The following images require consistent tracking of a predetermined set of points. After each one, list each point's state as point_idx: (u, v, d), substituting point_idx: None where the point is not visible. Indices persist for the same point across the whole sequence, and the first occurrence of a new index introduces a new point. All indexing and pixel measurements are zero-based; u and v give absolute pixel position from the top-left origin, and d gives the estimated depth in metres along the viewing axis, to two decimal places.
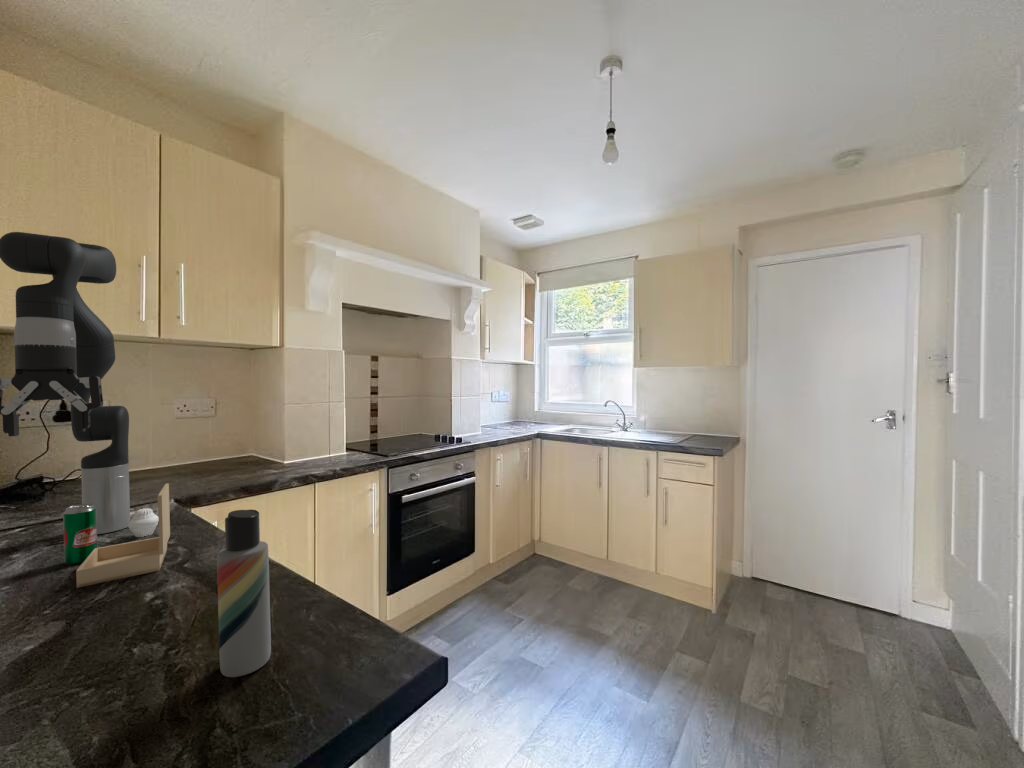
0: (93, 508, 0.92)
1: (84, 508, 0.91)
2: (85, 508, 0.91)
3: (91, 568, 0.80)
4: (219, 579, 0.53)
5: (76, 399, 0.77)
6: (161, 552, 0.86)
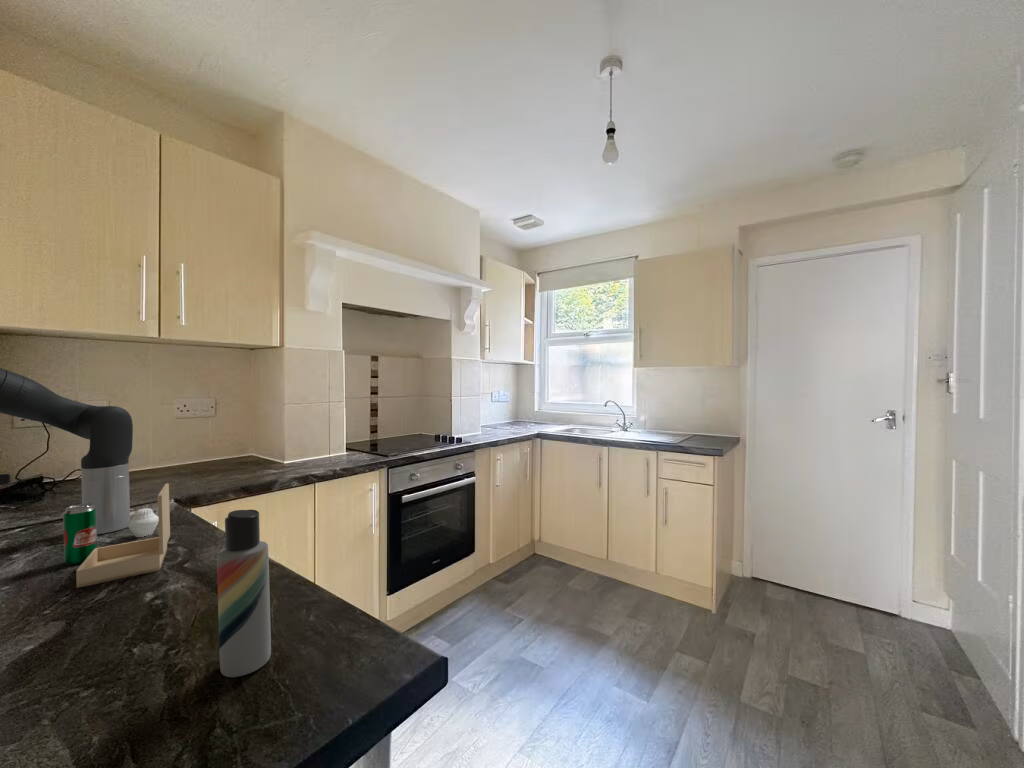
0: (93, 508, 0.92)
1: (84, 508, 0.91)
2: (85, 508, 0.91)
3: (91, 568, 0.80)
4: (219, 579, 0.53)
5: None
6: (161, 552, 0.86)
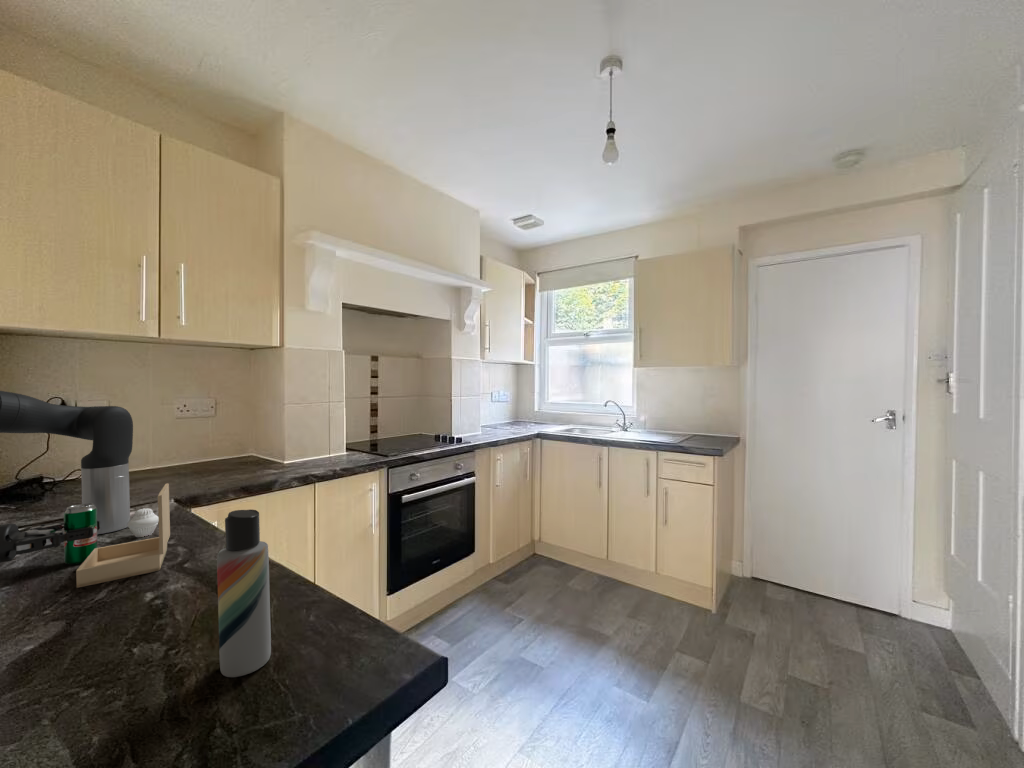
0: (94, 508, 0.93)
1: (85, 507, 0.91)
2: (86, 507, 0.91)
3: (91, 568, 0.80)
4: (219, 579, 0.53)
5: None
6: (161, 552, 0.86)
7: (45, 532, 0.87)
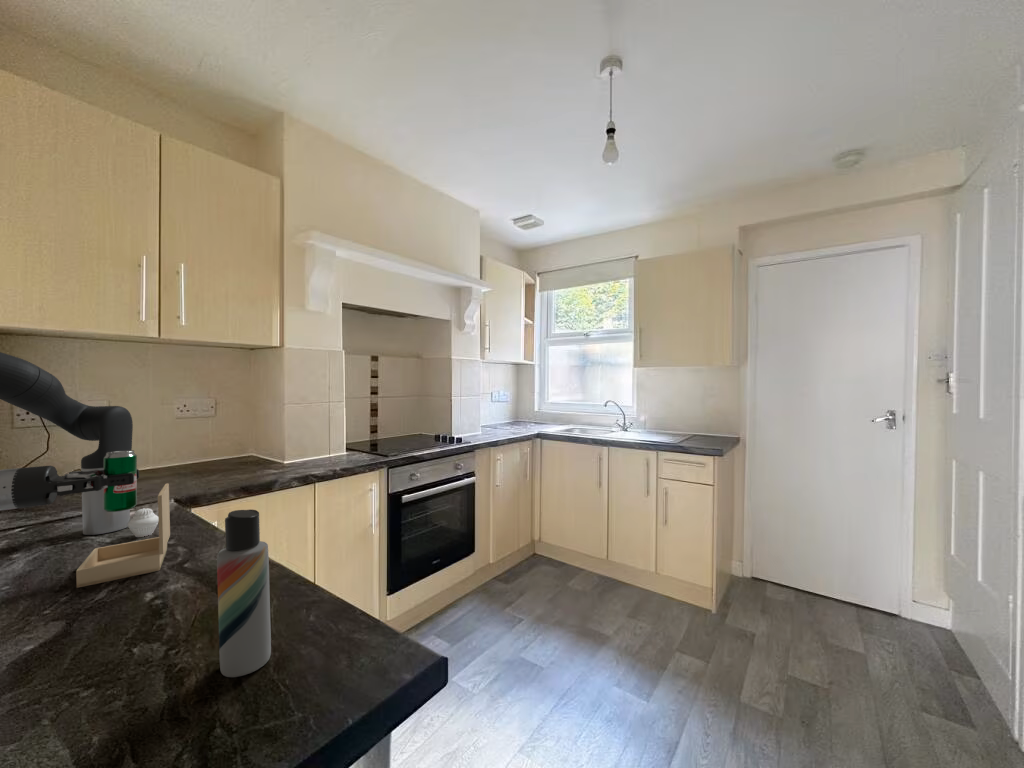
0: (134, 454, 0.89)
1: (125, 453, 0.87)
2: (126, 453, 0.87)
3: (91, 568, 0.80)
4: (219, 579, 0.53)
5: None
6: (161, 552, 0.86)
7: (86, 475, 0.83)
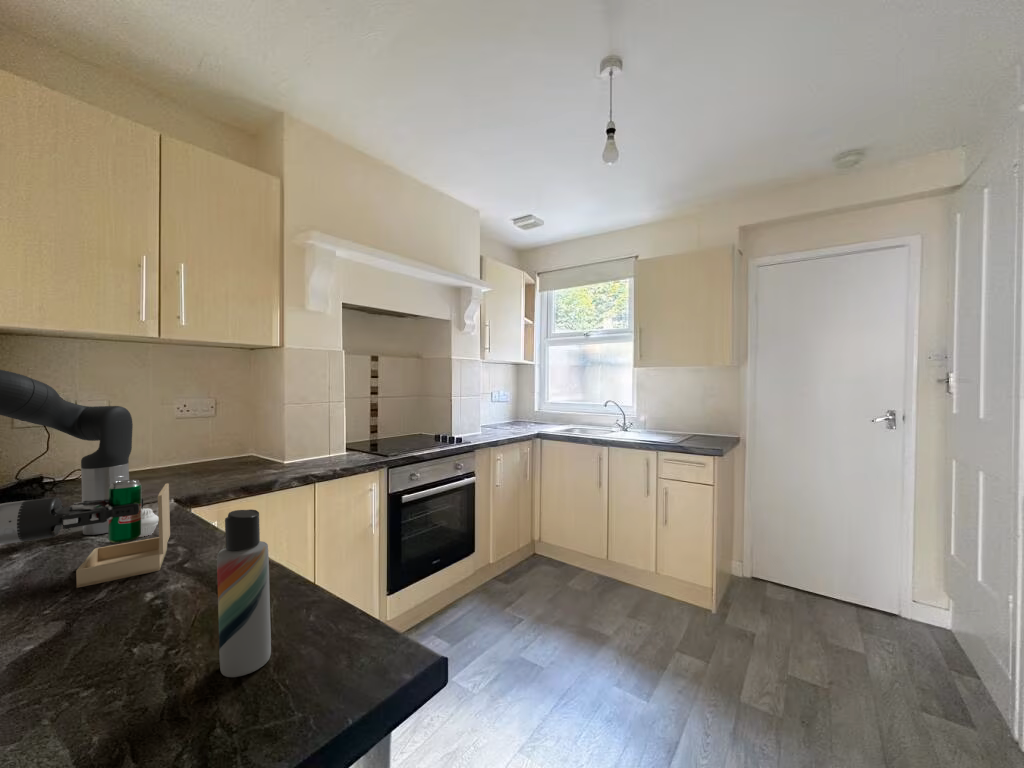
0: (139, 484, 0.89)
1: (130, 483, 0.87)
2: (131, 483, 0.87)
3: (91, 568, 0.80)
4: (219, 579, 0.53)
5: None
6: (161, 552, 0.86)
7: (91, 507, 0.83)
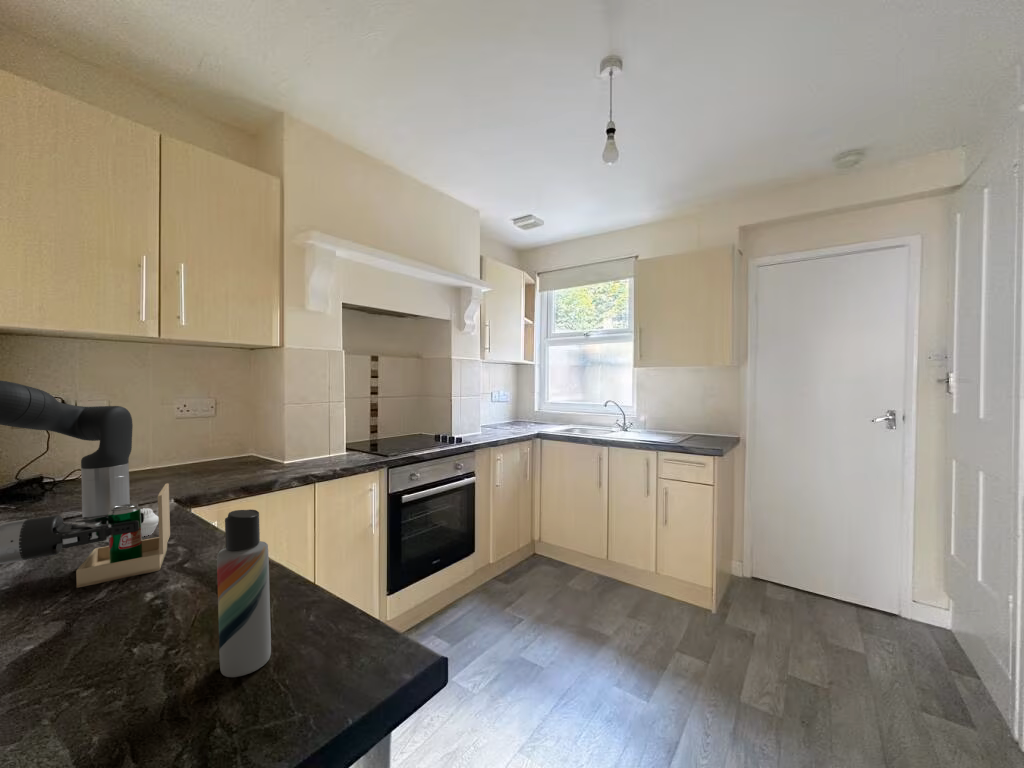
0: (137, 508, 0.89)
1: (129, 508, 0.87)
2: (130, 508, 0.87)
3: (91, 568, 0.80)
4: (219, 579, 0.53)
5: None
6: (161, 552, 0.86)
7: (91, 525, 0.83)
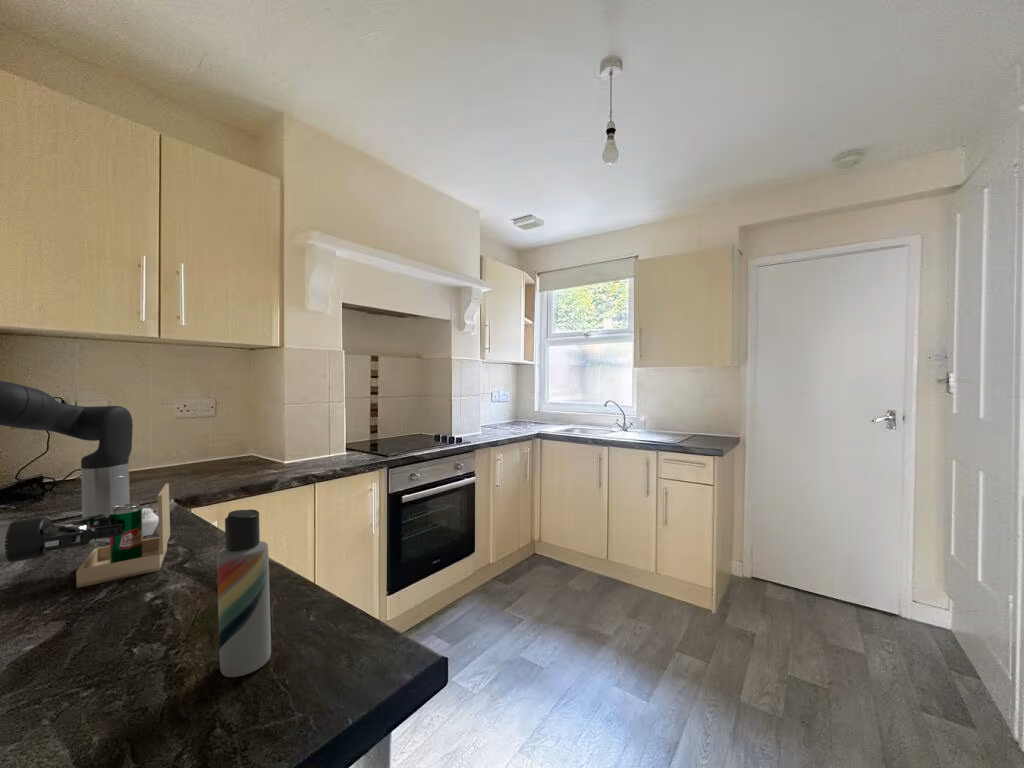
0: (139, 508, 0.89)
1: (130, 508, 0.87)
2: (131, 508, 0.87)
3: (91, 568, 0.80)
4: (219, 579, 0.53)
5: None
6: (161, 552, 0.86)
7: (75, 528, 0.81)
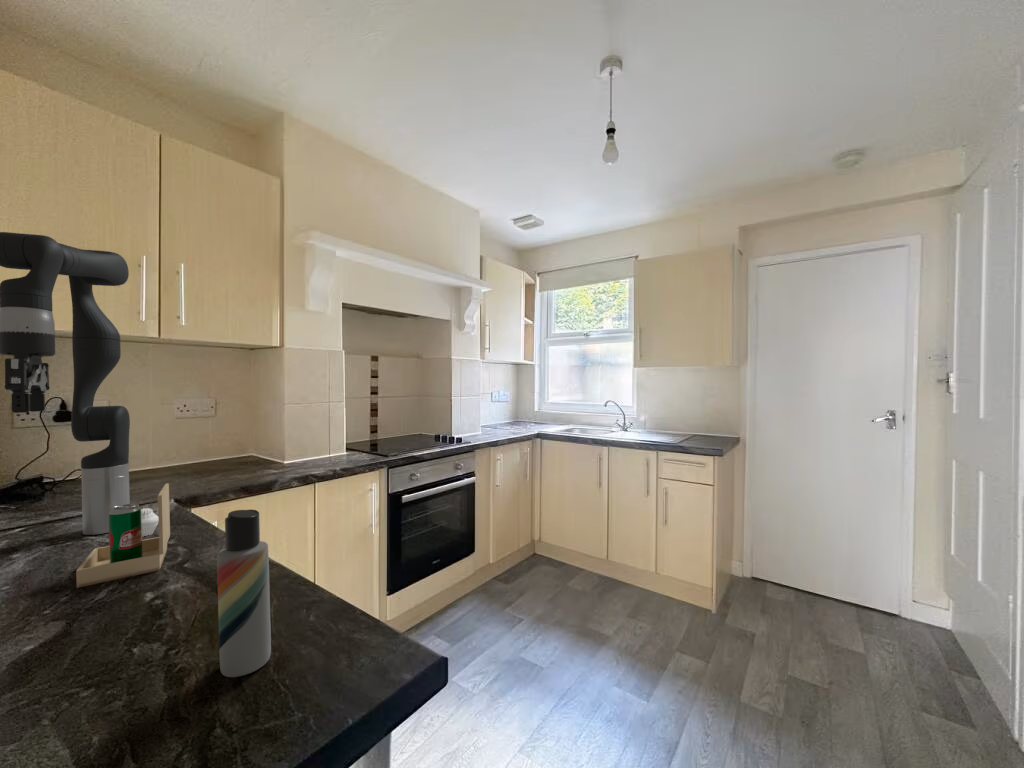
0: (138, 508, 0.89)
1: (129, 508, 0.87)
2: (130, 508, 0.87)
3: (91, 568, 0.80)
4: (219, 579, 0.53)
5: None
6: (161, 552, 0.86)
7: (32, 377, 0.83)
